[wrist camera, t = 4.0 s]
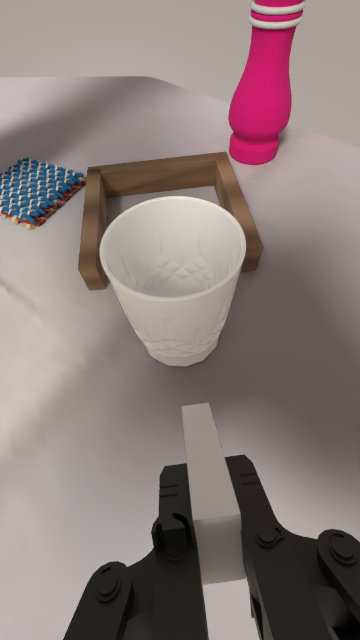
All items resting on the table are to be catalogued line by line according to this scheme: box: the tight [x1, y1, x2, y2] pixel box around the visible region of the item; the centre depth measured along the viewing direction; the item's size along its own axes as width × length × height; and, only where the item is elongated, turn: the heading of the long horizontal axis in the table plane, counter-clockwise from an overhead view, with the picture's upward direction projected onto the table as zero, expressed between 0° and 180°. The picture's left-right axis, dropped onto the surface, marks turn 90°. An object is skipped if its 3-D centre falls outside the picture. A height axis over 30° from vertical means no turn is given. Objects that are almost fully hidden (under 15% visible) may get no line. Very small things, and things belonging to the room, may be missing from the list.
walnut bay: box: [78, 152, 263, 290], centre depth 29 cm, size 16×16×3 cm
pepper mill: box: [229, 0, 306, 165], centre depth 28 cm, size 7×7×20 cm
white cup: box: [100, 196, 246, 367], centre depth 19 cm, size 8×8×10 cm
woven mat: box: [0, 157, 86, 230], centre depth 34 cm, size 10×11×2 cm
